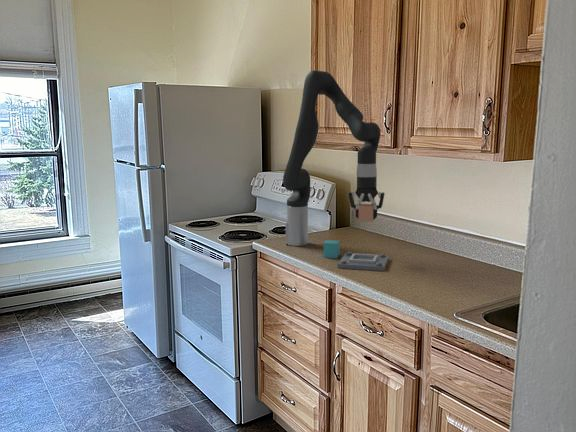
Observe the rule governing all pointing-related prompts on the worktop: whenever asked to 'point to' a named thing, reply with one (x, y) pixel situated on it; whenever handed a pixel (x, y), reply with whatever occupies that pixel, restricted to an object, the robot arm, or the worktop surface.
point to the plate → (363, 261)
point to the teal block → (331, 249)
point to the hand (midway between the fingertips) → (366, 218)
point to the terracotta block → (366, 212)
